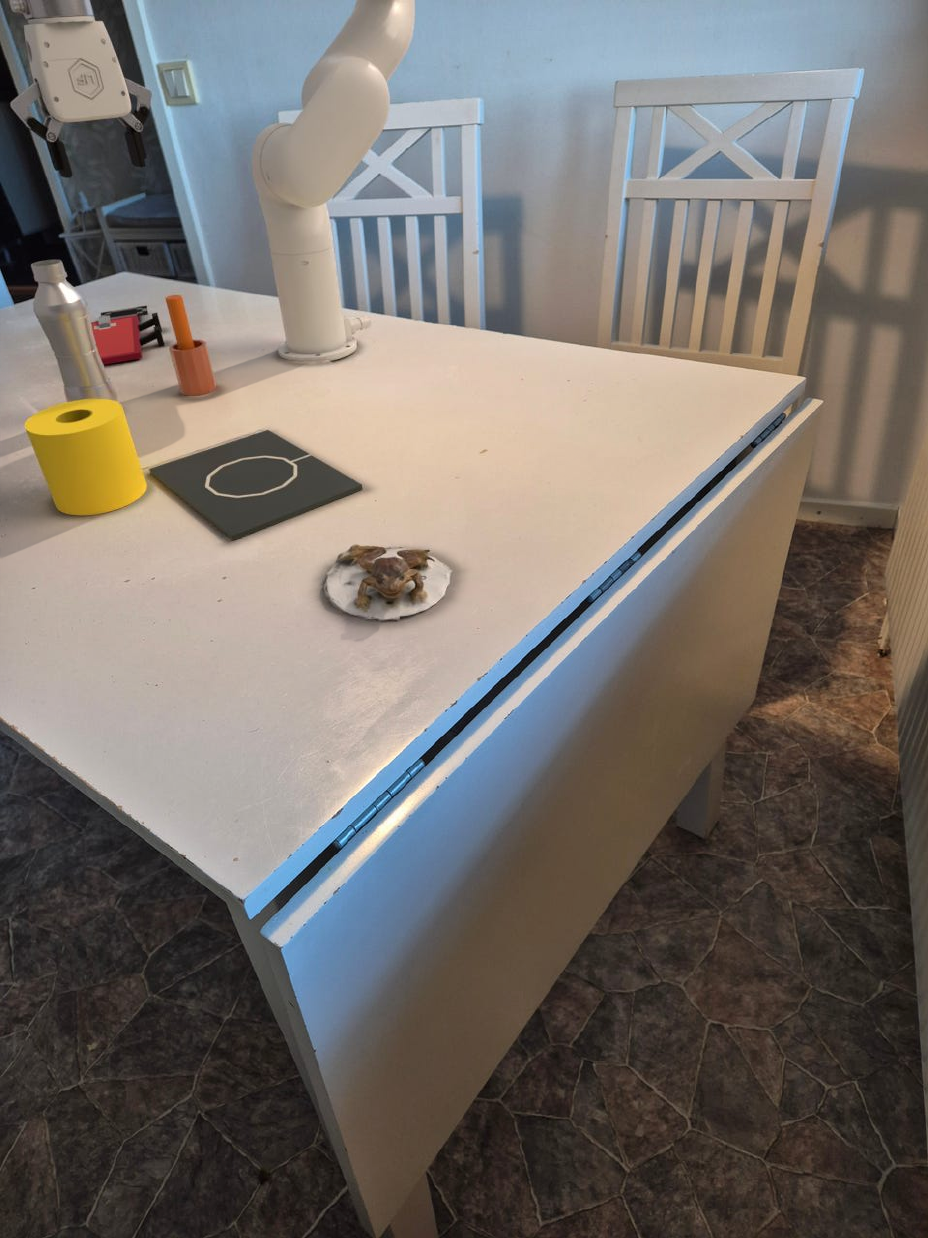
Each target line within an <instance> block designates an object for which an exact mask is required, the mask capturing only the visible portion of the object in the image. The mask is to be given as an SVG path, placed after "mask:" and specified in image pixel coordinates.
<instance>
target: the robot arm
mask: <svg viewBox="0 0 928 1238" xmlns="http://www.w3.org/2000/svg"><path fill="white" fill-rule="evenodd" d="M8 2H9V6H10V8H11V11H12V12H13V13H20V14H22V15H23V16H24V18H25V20H27V23H28V24H24V25H23V31H24V40H25V46H26V52H27V58H28V62H29V67H30V72H31V76H32V81H33V83H32V84H30V85H29V86H28V87H27V88H26V89H24V90H23V91H22V92H21V93H20V94H19V95H17V96H16V97H15V98H14V99H13V100H11V102H10V108H11V109H12V110H13V112H14V113H15V114H16V115H17V117H18V118H19V119H20V120H21V121H22V122H23V124H24V126H25V127H26V128H27V129H28V130H30V131H31V132H33V133H34V134H35V135H37V136H38V137H40V139H41V140H42V141H44V142H45V145H46V147H47V150H48V154H49V157H50V160H51V163H52V166H53V169H54V170H55V172H58V173H59V175H60V177H62V178H67V179H69V178H72V177H73V171H72V168H71V164H70V161H69V157H68V154H67V151H66V147H65V143H64V142H63V141H62V140H60V139H59V134H60V132H61V129H62V127H63V125H64V123H75V122H86V121H98V120H106V119H114V118H115V119H116V120H118V121H119V123H120V124H121V125H123V127H124V128H125V130H126V131H124V133H123V134H124V139H125V143H126V146H127V150H128V155H129V158H130V163H131V165H132V166H134V167H137V168H146V166H147V164H146V161H145V160H146V159H147V153H146V148H145V144H144V141H143V140H144V139H143V137H142V133H141V132H142V131H143V130H144V125H145V123H146V121H147V120H148V117H149V116H150V108H151V101H152V97H153V95H152V94H153V93H152V91H151V90H150V89H148V88H147V87H145V86H143V85H141V84H139V83H136V82H135V81H132V80H130V79H128V78H126V77H124V74H123V71H122V67H121V65H120V61H119V59H118V56H117V54H116V51H115V48H114V45H113V42H112V40H111V37H110V35H109V33H108V30H107V28H106V26H105V23H104V21H103V20H96V19H95V14H94V11H93V10H94V9H93V7H92V3H91V0H8ZM415 18H416V1H415V0H355V4H354V7H353V9H352V11H351V13H350V14H349V17H348V18H347V19H346V21H345V23H344V24H343V26H342V28H341V29H340V31H339V32H338V34H337V35H336V36H335V38H334V39H333V41H332V42H331V43H330V44H329V46H328V48H327V49H325V51H324V52H323V54H322V55H321V57H320V58H319V59H318V60H317V62H316V63H315V64H314V65H313V67H312V68H311V69H310V70H309V72H308V74H307V76H306V77H305V79H304V81H303V84H302V89H301V105H302V110H301V111H300V113H299V114H298V116H297V117H296V119H295V120H294V121H293V123H291V122H290V123H289V122H277V123H273V124H270V125H268V126H267V127H265V128H263V130H261V132H259V133H258V135H257V136H256V139H255V140H254V142H253V145H252V149H251V156H250V157H251V158H250V164H251V172H252V178H253V182H254V186H255V189H256V193H257V197H258V200H259V204H260V208H261V212H262V215H263V220H264V225H265V231H266V237H267V242H268V247H269V253H270V254H269V255H270V259H271V264H272V270H273V276H274V282H275V288H276V292H277V298H278V303H279V309H280V313H281V319H282V325H283V332H284V336H285V341H283V342H282V343H280V344H279V346H278V347H277V352H278V355H279V356H280V357H281V358H282V359H285V360H289V361H294V362H319V361H326V360H327V361H328V362H332V361H336V360H340V359H343V358H346V357H348V356H350V355H351V354H353V353H354V352H356V350H357V348H358V344H357V343H358V342H357V339H356V338H355V337H354V336H353V335H356V332H357V331H362V330H367V329H369V328H371V327H372V322H371V318H370V317H369V316H368V315H365V316H360V317H357V318H355V316H353V315H351V316H348V317H346V316H344V312H343V306H342V305H343V303H342V298H341V297H342V296H341V291H340V290H341V289H340V282H339V276H338V269H337V262H336V254H335V247H334V237H333V230H332V225H331V219H330V213H329V210H328V206H327V205H328V204H327V202H329V201H330V200H331V199H332V198H333V197H335V195H337V193H339V191H340V190H341V188H343V186H344V185H345V183H346V182H347V180H348V179H349V178H350V176H351V175H352V174H353V172H354V171H355V170H356V168H357V167H358V166H359V165H360V164H361V162H362V160H363V159H364V157H365V156H366V155H367V154H368V152H369V151H370V149H371V148H372V147H373V145H374V144H375V143H376V142H377V140H378V139H379V137H380V135H381V133H382V132H383V130H384V128H385V126H386V123H387V121H388V117H389V114H390V108H391V95H390V90H389V87H388V82H389V81H390V79H391V78H392V76H393V75H394V73H395V71H396V70H397V68H398V67H399V65H400V64H401V63H402V61H403V59H404V58H405V56H406V54H407V52H408V50H409V48H410V46H411V42H412V39H413V35H414V30H415V20H416V19H415ZM130 94H131V95H132V96H135V97H136V99H137V102H136V107H135V109H134V111H133V113H132V112H131V111H132V102H131V98H130ZM37 100H38V103H39V107H40V110H41V111H42V114H43V116H44V117H45V119H44V122H43V123H42V122H41V121H39V120H38V119H37V118H35V117H34V115H33V114H32V113H31V112H30V107H31V105H32V104H34V103H35V102H37Z"/></svg>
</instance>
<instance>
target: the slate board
mask: <svg viewBox="0 0 928 1238" xmlns="http://www.w3.org/2000/svg"><path fill="white" fill-rule="evenodd" d="M148 471H149V474H150V475H152V476H153V477H154V478H155V479H156V480H158V481H159V482H160V483H161V484H163V486H165V487H166V488H168V489H169V490H170V491H171V492H172V493H173V494H175V495H176V496H177V497H178V498H180V499H181V500H182V501H184V502H185V503H186V504H187V505H188V506H190V507H191V508H192V509H193V510H194V511H195V512H197V513H198V514H199V515H201V516H202V517H203V518H204V519H205V520H207V521H208V522H209V523H211V524H212V525H213V526H214V527H215V528H216V529H218V530H219V531H220V532H221V533H222V534H224V535H225V536H227V537H228V538H229V539H230V540H231V541H236V540H239V539H241V538H244V537H246V536H249V535H251V534H254V533H256V532H259V531H260V530H264V529H266V528H269V527H271V526H274V525H276V524H278V523H281V522H284V521H286V520H289V519H291V518H293V517H296V516H299V515H302V514H304V513H306V512H309V511H311V510H314V509H317V508H319V507H321V506H324V505H327V504H329V503H331V502H334V501H336V500H339V499H342V498H344V497H347V496H349V495H352V494H354V493H357V492H360V491H362V490H363V489H364V488H363V484H362V483H361V482H358V481H356V480H355V479H353V478H351V477H350V476H348V475H346V474H344V473H343V472H341V471H340V470H337V469H336V468H335V467H332V466H331V465H329V464H327V463H326V462H324V461H322V460H321V459H319V458H317V457H316V456H314V455H312V454H311V453H308V451H305V450H304V449H302V448H300V447H299V446H296V445H295V444H293V443H291V442H290V441H288V440H286V439H284V438H283V437H281V436H279V435H277V434H276V433H274V432H273V431H271V430H269V429H266V430H262V431H259V432H257V433H254V434H251V435H247V436H245V437H241V438H238V439H236V440H233V441H229V442H227V443H223V444H220V445H217V446H214V447H210V448H208V449H205V450H202V451H199V452H195V453H193V454H190V455H188V456H184V457H182V458H181V457H180V458H178V459H176V460H172V461H169V462H166V463H163V464H160V465H157V466H154V467H151V468H149V469H148Z"/></svg>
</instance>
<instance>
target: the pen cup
mask: <svg viewBox="0 0 928 1238" xmlns="http://www.w3.org/2000/svg"><path fill="white" fill-rule="evenodd" d="M193 343H194V347H195V348H193V349H188V350H179V349H178V345H177V342H175V343H173V344H170V346H169V348H168V350H169V353H170V358H171V362H172V365H173V369H174V373H175V377H176V379H177V384H178V387H179V391H180V393H181V394H182V396H183V395H184V396H186V397H198V396H199V397H200V396H203V395H207V394H210V393H212V392H214V391H215V390H216V389H217V382H216V378H215V374H214V370H213V365H212V361H211V357H210V352H209V349H208V348H209V347H208V343H207V342H206V341H205V340H203V339H193Z"/></svg>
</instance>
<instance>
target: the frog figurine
mask: <svg viewBox="0 0 928 1238" xmlns="http://www.w3.org/2000/svg"><path fill="white" fill-rule="evenodd" d="M430 552H431V550H430V549H421V548H420V549H410V548H407V547H406V548H404V547H401V546H399V547H395V546H394V547H383V546H378V545H359V544H357V543H355V544H353V545H351V546H350V547H349V548H348V549H347V550H345V551H343V552H341V553H339V554H338V556H337V558H336V560H335V563H334V564H333V565H332V566H331V568H330V569H329V570H328V571H327V573H325V576H326V580H325V582H324V584H323V592H324V594H325V595H324V596H325V597H326V599H327V600H328V602H329V603H330V604H331V605H332V606H333V607H334V608H335V609H337V610H339V611H341V612H342V613H346V614H348V615H351V616H353V617H354V616H355V617H358V618H363V619H365V620H368V619H370V620H372V619H373V620H377V621H378V622H384V621H399V620H401V618H402V617H408V616H412V615H416V614H418V613H422V612H425V611H426V610H429V609H430V608H431V607H434V606H435V605H436V604H437V603H438V602H439V601H440V600H441V599H443V598H444V597H445V594H446V592H447V591H446V590H447V588H448V586H449V585H450V584H451V577H452V574H453V570H452V569H451V568H450V567H449V566H448V565H446V563H443V562H441V561H440V560H438V559H437V558H436V557H435V556H431V555H429V554H428V553H430Z"/></svg>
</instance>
